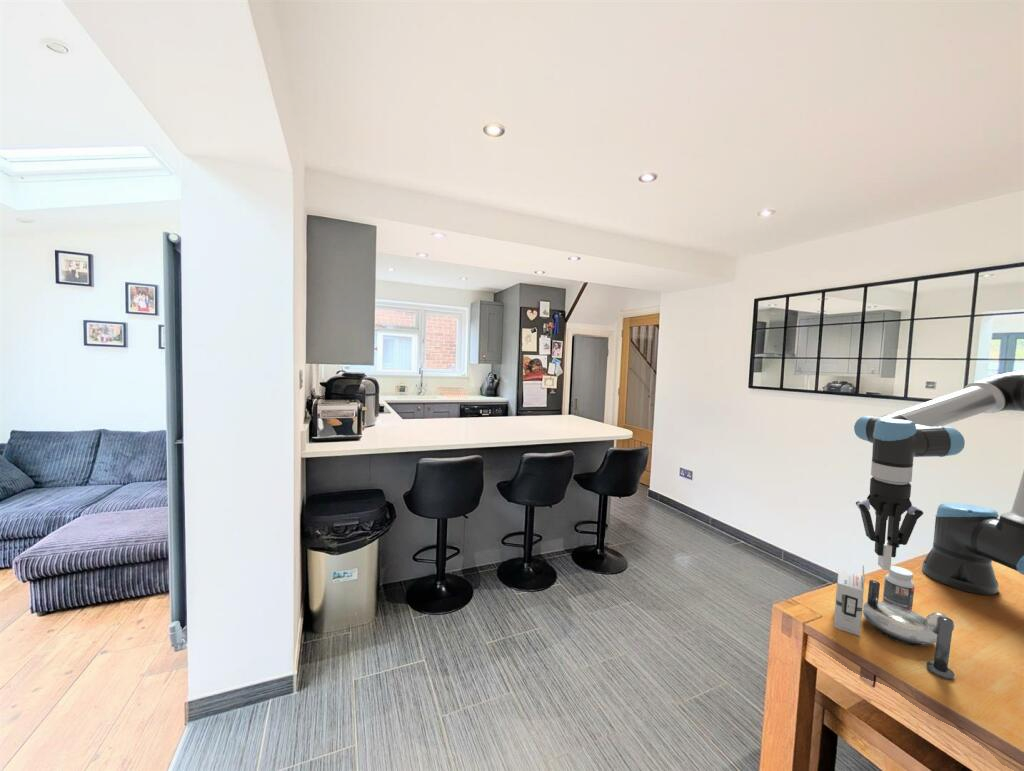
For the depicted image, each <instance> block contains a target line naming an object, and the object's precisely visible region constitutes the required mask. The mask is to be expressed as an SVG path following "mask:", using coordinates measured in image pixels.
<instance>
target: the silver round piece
mask: <svg viewBox="0 0 1024 771" xmlns="http://www.w3.org/2000/svg"><path fill="white" fill-rule="evenodd" d="M880 587H881V583H880V582H879V581H877V580H873V579H870V580H869V581H868V592H867V600H866V602H865V603H863V606H862V614H863V615H862V616H864V618H865V619H866V621H868V622H869V623H870V624H871V625H874V626H876V627H877V628H879V629H881V630H882V631H884V632H886V633H888V634H891V635H893V636H895V637H898V638H900V639H903V640H907V641H910V642H914V643H920V644H923V645H932V644H936V640H937V634H935V633H934V632H933V631H931V630H930V629H929V628H928V627H927V626H926V623H925V620H926V617H924V616H922V615H920V614H918V613H916V612H914V611H912V610H911V611H910V610H908V609H905V608H903V607H900V606H897V605H893V604H890V603H885V602H884V601H879V598H880ZM874 626H873V627H874Z"/></svg>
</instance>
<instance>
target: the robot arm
mask: <svg viewBox="0 0 1024 771" xmlns="http://www.w3.org/2000/svg"><path fill="white" fill-rule="evenodd" d="M1003 411H1017V412H1018V411H1019V412H1024V370H1017V371H1011V372H1010V371H1009V372H1005V373H1001V374H997V375H992V376H989V377H987V378H986V377H985V378H982V379H979V380H976V381H973V382H971V383H968V384H966V385H965V386H964V387H963V389H960V390H957V391H955V392H951V393H948V394H946V395H942V396H939V397H937V398H934V399H931V400H928V401H925V402H921V403H919V404H916V405H913V406H910V407H907V408H904V409H901V410H897V411H895V412H891V413H889V414H885V415H882V416H876V415H863V416H860V417H859V418H858V419H857V420H856V422H854V425H853V426H854V427H853V430H854V434H855V435H856V437H857V438H858V439H861V440H863V441H866V442H869V443H872V454H871V456H872V457H871V469H870V475H871V476H872V477H871V478H870V480H869V485H870V486H869V494H868V495H867V497H866V500H863V501H860V500H857V501H856V502H855V506H857V508H858V509H859V511H860V515H861V520H862V523H863V527H864V532H865V536H866V537H867V538H868V539H869V540H871V542H874V553H875V554H876V555H877V556H878V557H877V565H878V566H879V567H880V568H881V569H882V570H883V571H884V570H885V571H888V570H891V566H892V558H896V556H897V549H898V548H900V545H903V546H906V545H907V544H908V542H909V540H910V537H911V536H912V533H913V531H914V528H915V525H916V524H917V522H918V519H920V517H922V516H923V515H924V511H923V510H921V509H920V508H918V507H916V506H914V505H913V503H912V501H911V499H910V498H911V495H912V494H911V493H912V491H911V490H912V484H911V482H913V481H912V479H913V468H914V467H913V466H914V458H920V457H921V458H922V457H923V458H926V457H931V458H933V457H939V458H940V457H941V458H943V457H949V456H956V455H957V454H958V455H959V454H960V453H961V452H962V451H963V450H964V448H965V445H966V444H965V443H966V441H965V437H964V435H962V433H961V432H960V431H959V430H957V429H955V428H954V427H950V426H946V425H949V424H953V423H955V422H958V421H962V420H965V419H967V418H968V419H969V418H972V417H974V416H976V415H977V416H978V415H980V414H983V413H984V414H995V413H999V412H1003ZM870 506H871V507H872V508H873V510H874V513H875V524H873V520H872V516H871V512H870V510H871V507H870ZM905 512H906V513H905ZM904 513H905V515H904V517H903V520H902V515H903V514H904ZM934 516H935V519H934V520H935V522H934V532H933V533H934V534H933V543H932V547H931V550H930V551H929V552H928V554H927V556H925V558H924V559H923V561H922V566H921V570H922V572H923V573H924V574H925V575H926V576H928V577H929V578H931V579H933V580H934V581H936V582H939V583H941V584H944V585H946V586H949V587H951V588H954V589H956V590H961V591H963V592H967V593H972V594H977V595H983V596H985V595H986V596H990V595H991V596H992V595H996V594H998V591H999V582H998V581H997V578H996V574H995V571H994V567H993V563H992V562H994V563H998V564H999V565H1002V566H1005V567H1007V568H1009V569H1011V570H1014V571H1016V572H1018V573H1020V574H1021V575H1023V576H1024V470H1023V472H1022V475H1021V478H1020V482H1019V485H1018V488H1017V492H1016V495H1015V498H1014V501H1013V504H1012V508H1011V510H1010V511H1008V512H1007V511H1006V512H1004V513H1000V515H999V512H998V511H996V509H995V510H994V509H992V508H989V507H984V506H980V505H974V504H967V503H966V504H965V503H959V502H958V503H956V502H944V503H941V504H939V505H938V506H937V510H936V514H935V515H934ZM901 521H902V522H901ZM900 522H901V524H900ZM886 532H887V533H886ZM886 534H887V535H886ZM886 540H887V541H886Z"/></svg>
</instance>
